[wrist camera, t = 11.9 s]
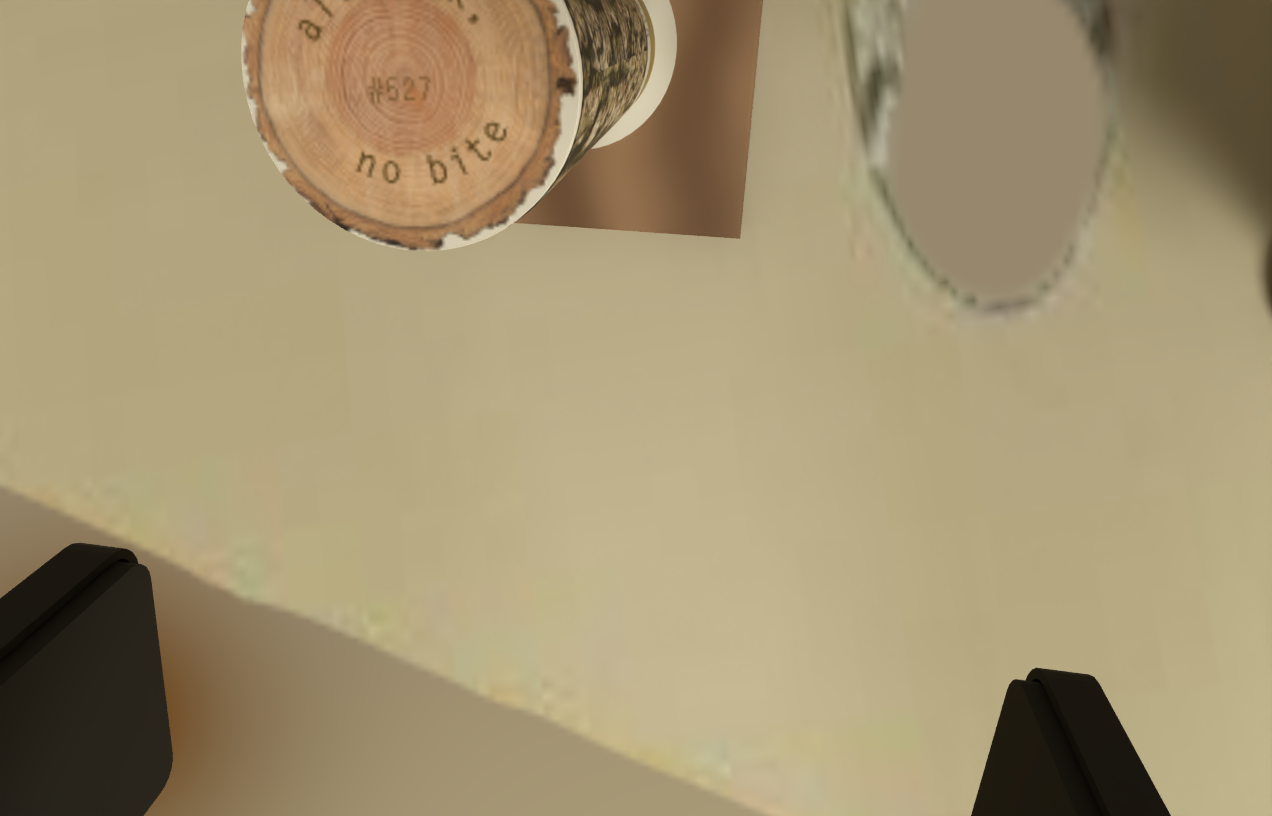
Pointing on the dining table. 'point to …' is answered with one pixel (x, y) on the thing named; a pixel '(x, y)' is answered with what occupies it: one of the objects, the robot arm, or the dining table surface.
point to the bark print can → (438, 105)
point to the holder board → (674, 132)
